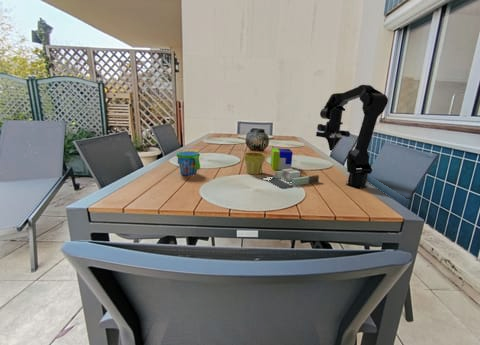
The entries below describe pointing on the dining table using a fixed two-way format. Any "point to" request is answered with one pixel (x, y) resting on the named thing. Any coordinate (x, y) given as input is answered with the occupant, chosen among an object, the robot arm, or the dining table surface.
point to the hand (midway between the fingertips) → (331, 150)
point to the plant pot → (254, 162)
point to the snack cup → (188, 162)
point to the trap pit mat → (279, 183)
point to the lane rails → (300, 178)
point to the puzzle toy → (281, 159)
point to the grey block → (289, 174)
